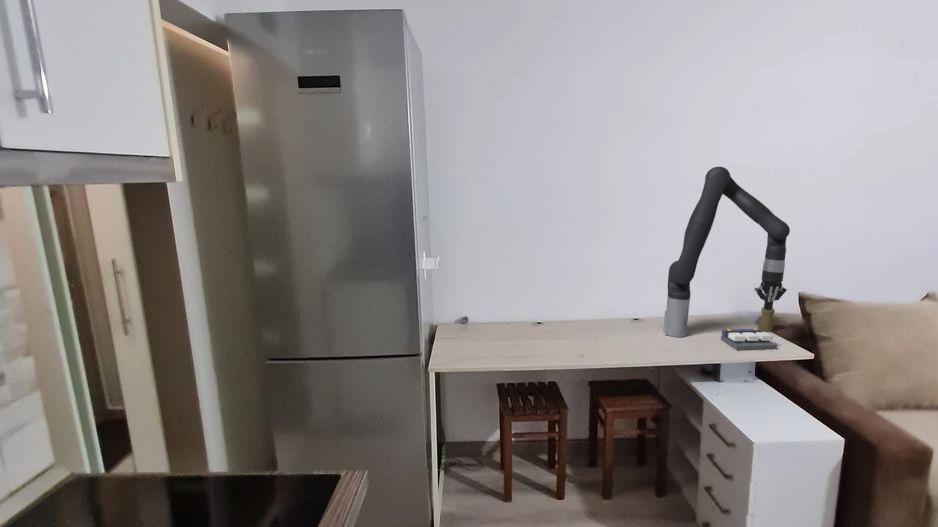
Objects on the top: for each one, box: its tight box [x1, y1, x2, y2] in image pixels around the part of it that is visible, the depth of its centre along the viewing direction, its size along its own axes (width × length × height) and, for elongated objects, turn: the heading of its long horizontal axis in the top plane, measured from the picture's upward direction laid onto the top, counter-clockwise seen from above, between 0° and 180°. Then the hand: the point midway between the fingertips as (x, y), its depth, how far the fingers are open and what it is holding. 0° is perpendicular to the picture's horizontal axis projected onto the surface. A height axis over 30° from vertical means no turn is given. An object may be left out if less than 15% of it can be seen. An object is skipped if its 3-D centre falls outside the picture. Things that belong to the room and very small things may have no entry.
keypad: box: [720, 327, 778, 351], centre depth 212 cm, size 17×12×5 cm
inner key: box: [728, 333, 746, 341], centre depth 210 cm, size 5×5×2 cm
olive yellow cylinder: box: [757, 306, 775, 333], centre depth 229 cm, size 6×6×11 cm
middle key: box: [742, 332, 759, 341], centre depth 211 cm, size 5×5×2 cm
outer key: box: [756, 332, 774, 342], centre depth 211 cm, size 5×5×2 cm
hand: (767, 309), depth 208 cm, fingers closed
